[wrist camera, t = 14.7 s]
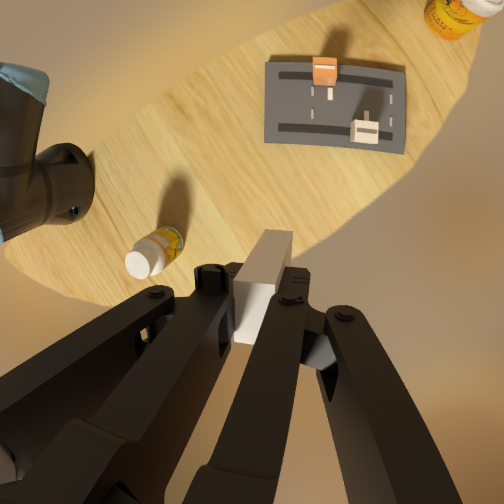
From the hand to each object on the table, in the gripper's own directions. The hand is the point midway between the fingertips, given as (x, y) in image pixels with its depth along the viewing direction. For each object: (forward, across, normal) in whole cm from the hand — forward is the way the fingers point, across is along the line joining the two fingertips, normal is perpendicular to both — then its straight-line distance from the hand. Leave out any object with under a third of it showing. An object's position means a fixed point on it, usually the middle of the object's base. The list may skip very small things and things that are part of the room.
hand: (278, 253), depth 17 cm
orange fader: (+22, +2, +15) cm, 27 cm away
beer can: (+25, +20, +27) cm, 42 cm away
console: (+24, +4, +12) cm, 27 cm away
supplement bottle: (+25, -20, -9) cm, 33 cm away
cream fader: (+22, +7, +8) cm, 25 cm away
